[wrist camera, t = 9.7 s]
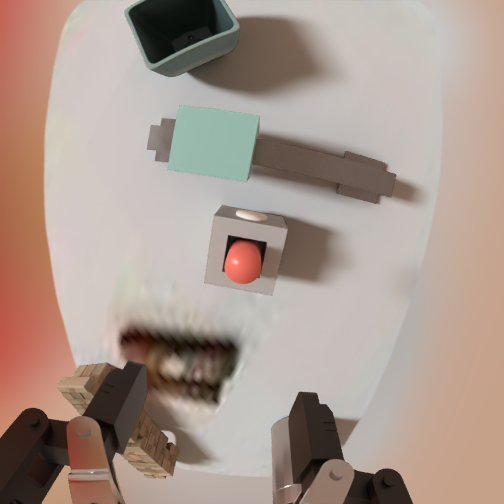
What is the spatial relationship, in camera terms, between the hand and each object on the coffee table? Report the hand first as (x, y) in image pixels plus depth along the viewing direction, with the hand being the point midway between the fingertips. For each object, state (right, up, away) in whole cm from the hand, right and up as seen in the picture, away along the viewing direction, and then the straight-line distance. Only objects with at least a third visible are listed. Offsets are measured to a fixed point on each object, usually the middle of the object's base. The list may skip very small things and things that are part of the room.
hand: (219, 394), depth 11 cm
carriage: (-1, +16, +15) cm, 22 cm away
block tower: (-22, -25, +34) cm, 48 cm away
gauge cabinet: (+1, +7, +22) cm, 24 cm away
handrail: (+4, +17, +19) cm, 26 cm away
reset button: (+1, +6, +18) cm, 19 cm away
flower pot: (-5, +30, +15) cm, 34 cm away
